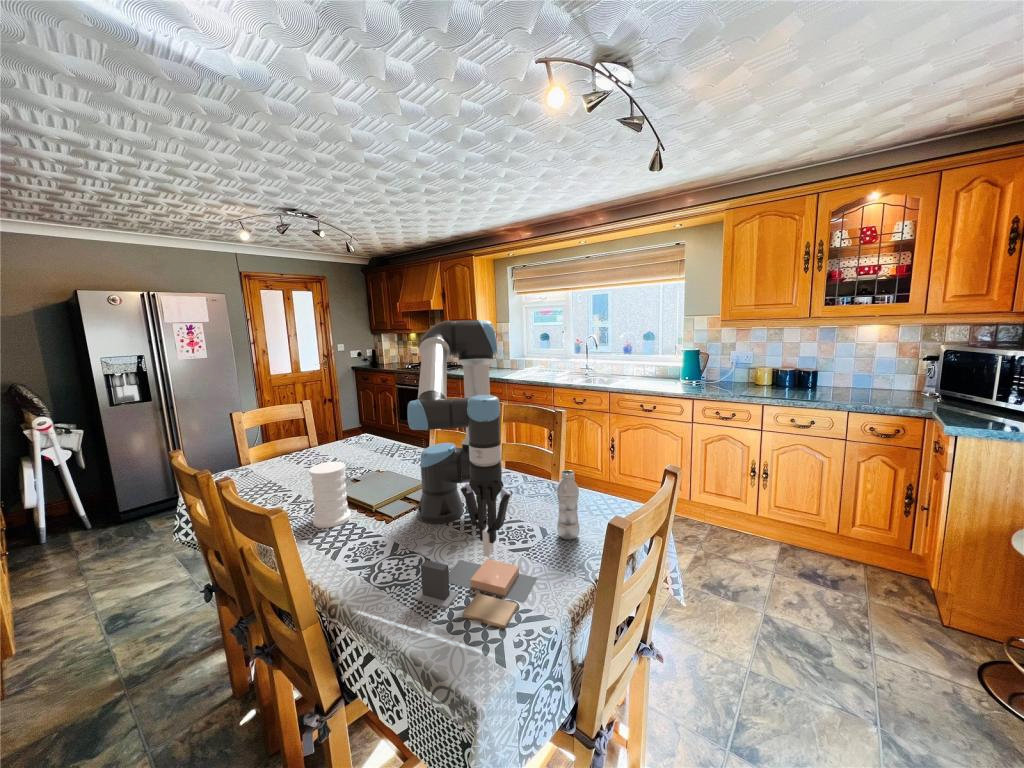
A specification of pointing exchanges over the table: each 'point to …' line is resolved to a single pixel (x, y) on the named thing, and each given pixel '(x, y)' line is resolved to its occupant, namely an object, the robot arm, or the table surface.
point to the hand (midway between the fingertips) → (488, 553)
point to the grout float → (435, 584)
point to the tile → (495, 577)
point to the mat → (462, 578)
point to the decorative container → (329, 494)
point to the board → (490, 610)
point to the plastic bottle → (568, 506)
